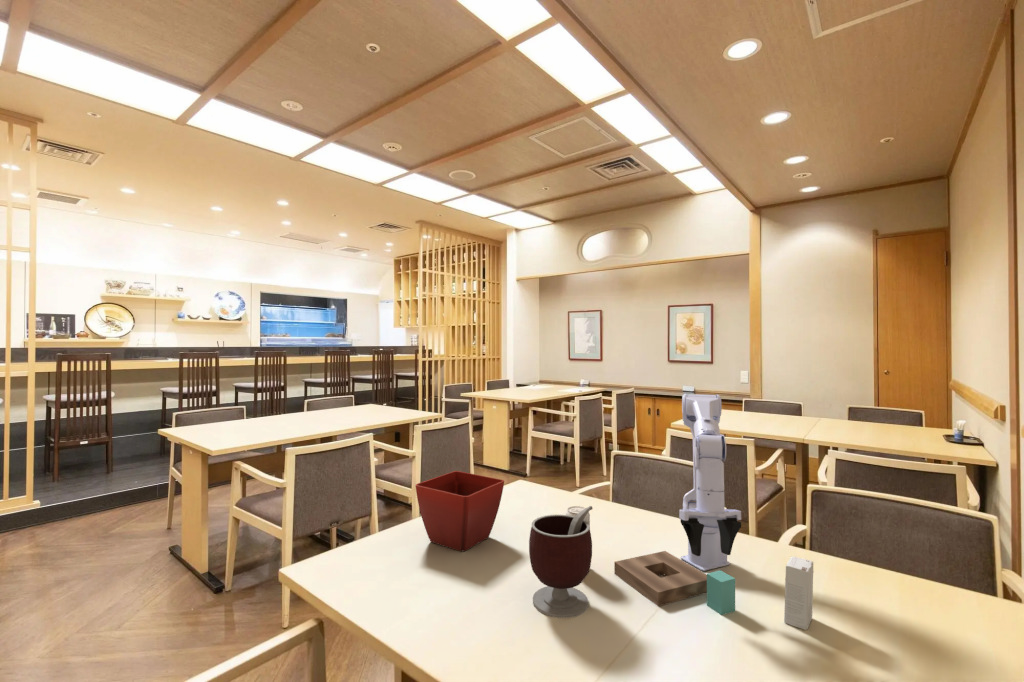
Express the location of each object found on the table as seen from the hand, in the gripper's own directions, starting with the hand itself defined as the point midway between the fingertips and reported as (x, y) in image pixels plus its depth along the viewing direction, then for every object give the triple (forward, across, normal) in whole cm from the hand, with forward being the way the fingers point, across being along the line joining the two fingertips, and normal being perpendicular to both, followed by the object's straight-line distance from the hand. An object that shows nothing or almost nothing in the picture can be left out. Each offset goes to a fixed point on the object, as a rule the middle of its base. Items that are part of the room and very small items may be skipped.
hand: (711, 554), depth 104 cm
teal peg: (+11, +3, 0) cm, 12 cm away
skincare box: (+12, +15, -8) cm, 21 cm away
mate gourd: (+13, -29, +12) cm, 34 cm away
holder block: (+10, -3, +14) cm, 17 cm away
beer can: (+10, -20, +25) cm, 34 cm away
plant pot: (+9, -46, +51) cm, 69 cm away
